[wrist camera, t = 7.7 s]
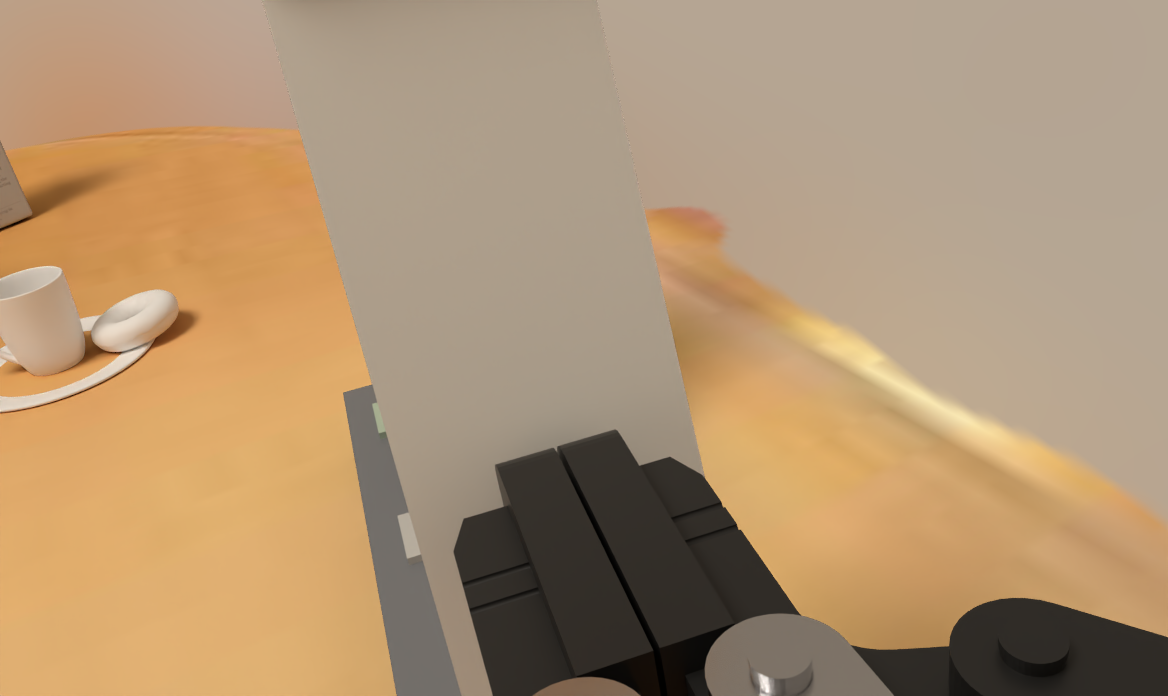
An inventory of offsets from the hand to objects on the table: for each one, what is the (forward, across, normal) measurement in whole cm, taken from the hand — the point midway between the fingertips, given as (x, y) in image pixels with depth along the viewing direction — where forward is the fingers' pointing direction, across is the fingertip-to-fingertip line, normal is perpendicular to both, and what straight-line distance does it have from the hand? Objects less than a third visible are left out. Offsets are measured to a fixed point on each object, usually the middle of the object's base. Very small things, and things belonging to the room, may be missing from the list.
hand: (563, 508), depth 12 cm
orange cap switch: (-1, 0, +6) cm, 6 cm away
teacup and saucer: (+30, +13, +11) cm, 35 cm away
